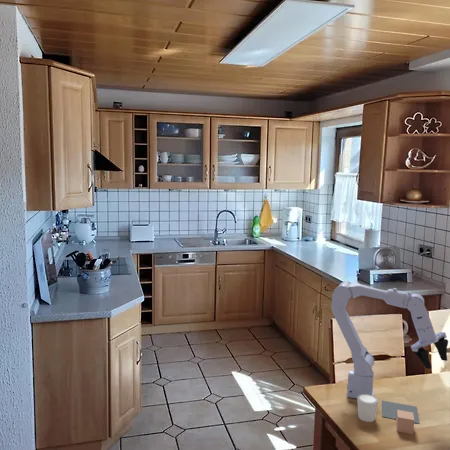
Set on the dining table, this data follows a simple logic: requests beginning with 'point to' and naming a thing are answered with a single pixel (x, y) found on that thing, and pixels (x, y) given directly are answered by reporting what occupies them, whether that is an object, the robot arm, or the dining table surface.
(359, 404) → the white cup
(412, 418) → the terracotta block
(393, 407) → the slate mat
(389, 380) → the dining table surface
